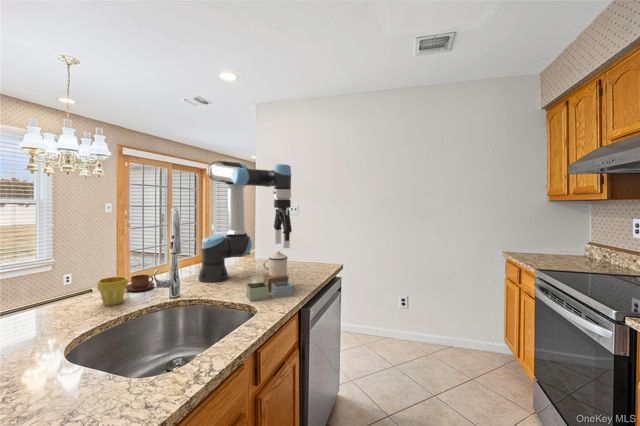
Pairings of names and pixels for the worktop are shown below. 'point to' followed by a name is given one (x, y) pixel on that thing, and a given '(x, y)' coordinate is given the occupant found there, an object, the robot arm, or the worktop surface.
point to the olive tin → (257, 291)
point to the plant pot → (112, 289)
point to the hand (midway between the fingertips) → (282, 245)
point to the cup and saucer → (140, 283)
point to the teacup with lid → (277, 265)
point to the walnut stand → (273, 280)
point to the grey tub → (282, 289)
